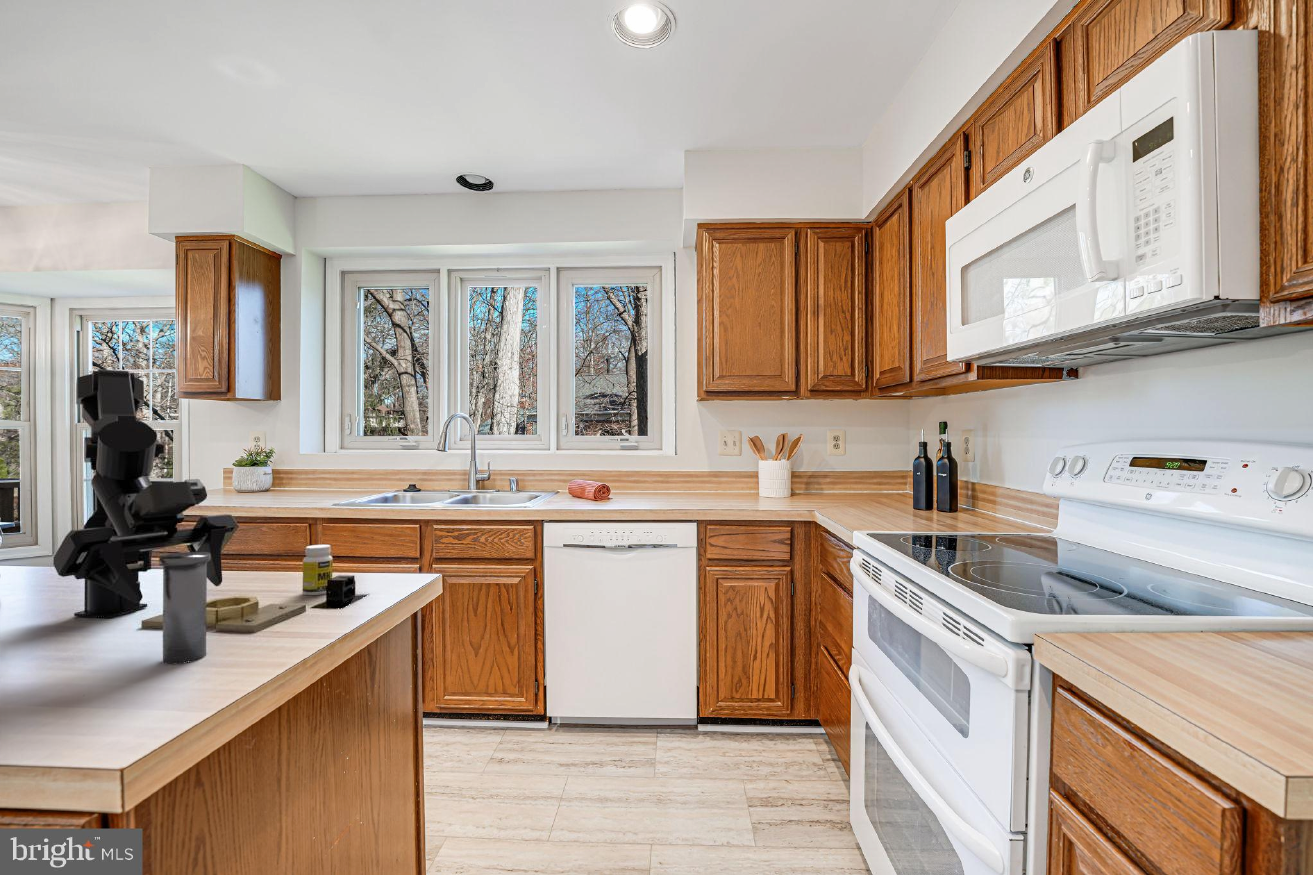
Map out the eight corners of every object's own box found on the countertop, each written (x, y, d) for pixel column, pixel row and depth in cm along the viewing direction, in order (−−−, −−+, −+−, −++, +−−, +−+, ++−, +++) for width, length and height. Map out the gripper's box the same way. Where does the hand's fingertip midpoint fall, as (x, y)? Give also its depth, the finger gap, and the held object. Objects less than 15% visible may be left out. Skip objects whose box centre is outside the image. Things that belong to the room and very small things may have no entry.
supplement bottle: (319, 596, 109) (319, 549, 109) (296, 595, 110) (296, 547, 110) (338, 590, 114) (338, 544, 114) (316, 588, 115) (316, 543, 115)
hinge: (141, 627, 91) (141, 610, 91) (204, 607, 102) (204, 592, 102) (254, 632, 89) (254, 614, 89) (305, 611, 100) (305, 595, 100)
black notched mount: (341, 614, 100) (341, 586, 100) (297, 614, 100) (297, 585, 100) (378, 595, 112) (378, 570, 112) (339, 594, 113) (339, 569, 113)
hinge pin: (147, 664, 76) (148, 559, 76) (183, 649, 81) (184, 551, 81) (185, 666, 76) (186, 560, 76) (220, 651, 81) (220, 552, 81)
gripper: (66, 462, 72) (120, 563, 68) (230, 458, 89) (281, 539, 85) (31, 525, 75) (80, 627, 71) (196, 510, 92) (244, 591, 88)
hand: (181, 591), depth 79 cm, fingers open, 9 cm apart
